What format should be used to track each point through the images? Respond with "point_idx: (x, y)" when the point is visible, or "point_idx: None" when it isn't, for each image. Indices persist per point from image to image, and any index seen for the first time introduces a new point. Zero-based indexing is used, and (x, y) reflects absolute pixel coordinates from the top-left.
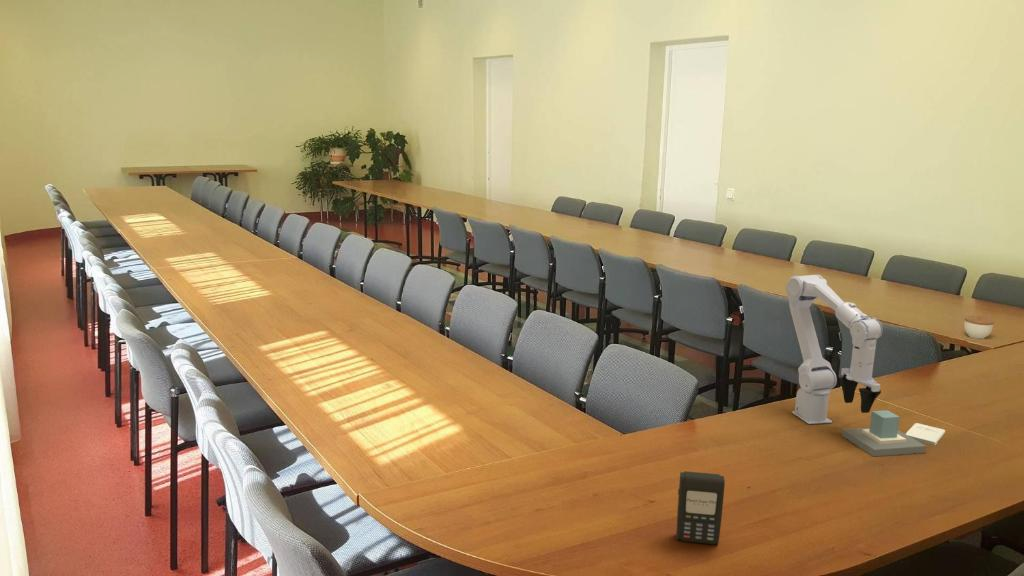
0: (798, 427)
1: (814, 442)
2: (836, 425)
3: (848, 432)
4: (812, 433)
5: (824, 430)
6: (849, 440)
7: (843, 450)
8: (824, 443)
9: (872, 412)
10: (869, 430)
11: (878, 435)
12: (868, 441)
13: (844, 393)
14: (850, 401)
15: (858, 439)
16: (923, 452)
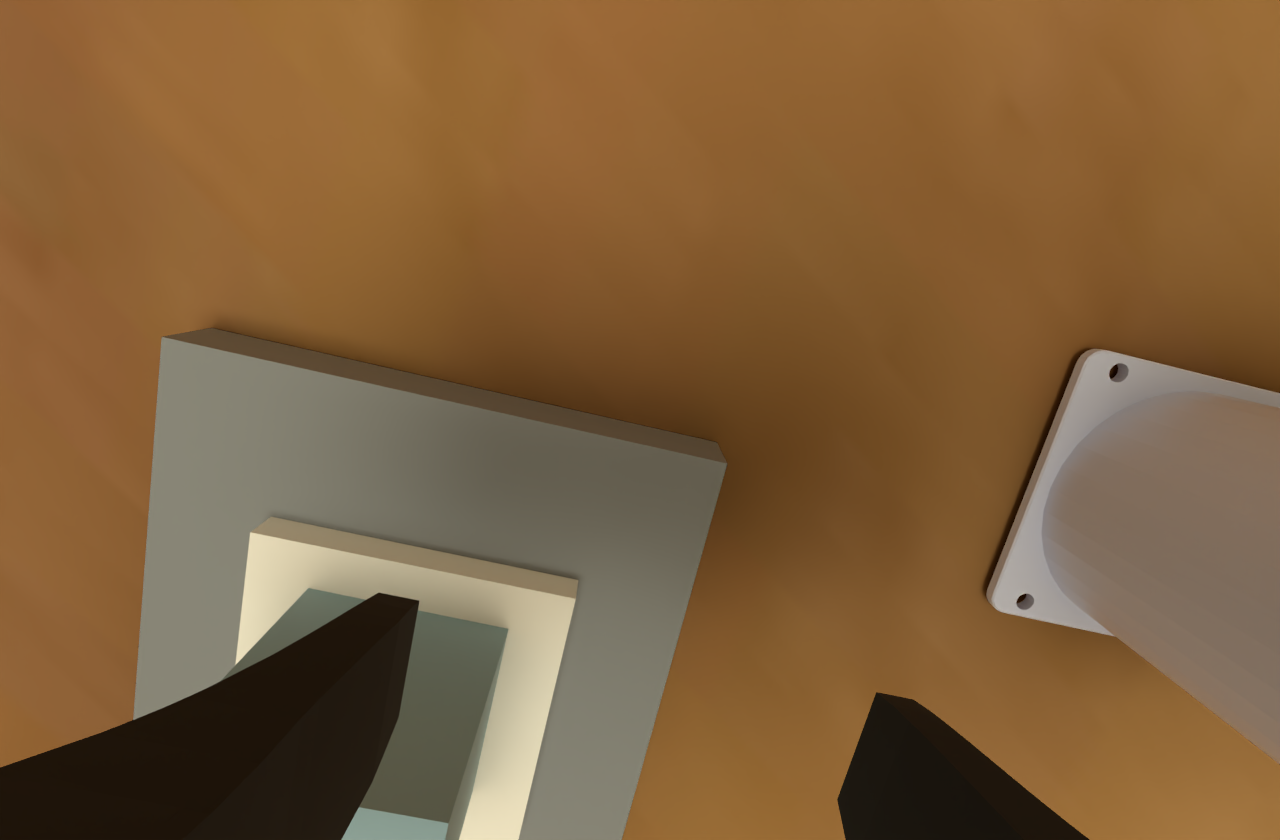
0: (1090, 178)
1: (714, 7)
2: (926, 594)
3: (638, 453)
4: (901, 197)
5: (897, 386)
6: (597, 415)
7: (431, 153)
8: (648, 101)
9: (438, 808)
10: (506, 633)
11: (345, 604)
12: (369, 460)
13: (1013, 813)
14: (854, 787)
15: (448, 401)
16: None
